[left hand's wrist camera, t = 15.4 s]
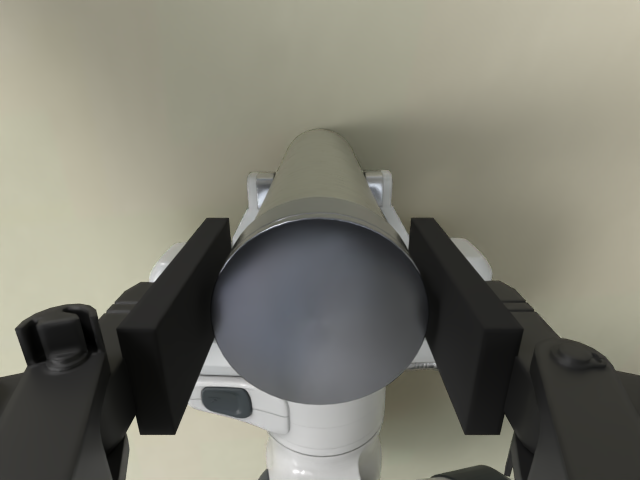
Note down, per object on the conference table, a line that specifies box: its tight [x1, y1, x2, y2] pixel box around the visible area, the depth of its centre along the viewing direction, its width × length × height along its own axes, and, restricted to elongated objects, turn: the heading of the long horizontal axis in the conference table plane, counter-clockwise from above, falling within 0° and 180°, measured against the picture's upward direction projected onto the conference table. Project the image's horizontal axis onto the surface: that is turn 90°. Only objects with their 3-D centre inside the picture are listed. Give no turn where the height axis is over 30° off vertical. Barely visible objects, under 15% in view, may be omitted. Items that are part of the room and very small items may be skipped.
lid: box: [210, 197, 429, 405], centre depth 11 cm, size 6×6×2 cm
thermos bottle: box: [255, 129, 385, 220], centre depth 20 cm, size 5×5×20 cm
